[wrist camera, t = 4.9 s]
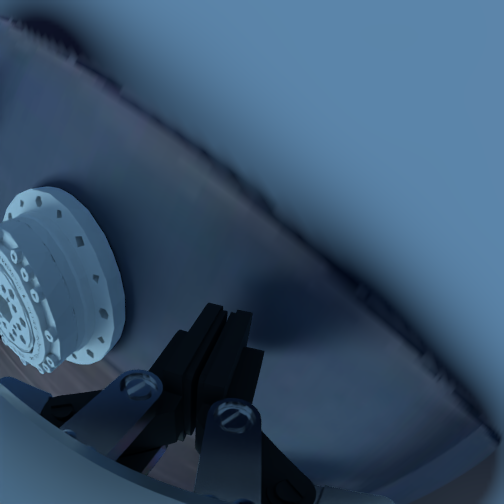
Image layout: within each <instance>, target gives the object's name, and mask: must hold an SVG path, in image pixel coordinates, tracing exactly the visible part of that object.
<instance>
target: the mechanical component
mask: <svg viewBox="0 0 504 504" xmlns="http://www.w3.org/2000/svg"><path fill="white" fill-rule="evenodd" d="M124 323H125V295H124V290H123V285H122V280H121V275H120V272H119V269H118V266H117V263H116V260H115V257H114V254H113V252H112V250H111V248H110V245H109V243H108V241H107V239H106V236H105V234H104V233H103V231H102V230H101V229H100V227H99V226H98V224H97V223H96V221H95V220H94V218H93V216H92V215H91V213H90V212H89V210H88V209H87V208H86V207H84V206H83V205H82V204H81V203H80V202H79V201H78V200H77V199H76V198H75V197H74V196H73V195H71V194H69V193H67V192H66V191H64V190H62V189H60V188H55V187H49V186H46V187H39V188H33V189H29V190H27V191H25V192H22V193H20V194H18V195H17V196H16V197H15V198H14V200H13V201H12V202H11V204H10V205H9V206H8V208H7V210H6V214H5V217H4V220H3V222H1V223H0V335H1V336H2V337H1V338H2V341H3V342H4V343H5V345H8V346H9V347H10V348H11V349H12V350H13V351H14V352H15V353H16V354H17V355H18V356H19V357H20V360H21V362H22V363H23V364H24V365H27V364H29V363H30V364H31V365H33V366H35V367H36V368H37V369H38V370H39V372H40V373H42V374H44V373H45V372H46V371H47V372H49V373H51V372H52V371H53V370H54V369H56V368H57V367H58V366H59V365H60V364H61V363H62V362H63V361H64V360H65V359H66V360H68V361H71V362H74V363H77V364H92V363H94V362H97V361H99V360H101V359H102V358H103V357H104V356H105V355H106V354H107V353H108V352H109V351H110V350H111V349H112V348H113V347H114V345H115V344H116V343H117V341H118V340H119V339H120V337H121V334H122V330H123V327H124Z"/></svg>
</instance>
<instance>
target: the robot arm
mask: <svg viewBox="0 0 504 504" xmlns="http://www.w3.org/2000/svg"><path fill="white" fill-rule="evenodd" d="M251 320H252V313H251V312H246V311H242V310H237V312H236V313H233V312H231V314H230V316H229V318H228V320H227V311H225V310H223V306H220V305H216V304H212V303H208V304H207V305H206V306H205V308H204V309H203V311H202V312H201V314H200V315H199V317H198V318H197V320H196V321H195V323H194V324H193V326H192V327H191V329H190V330H189V331H188V332H186V331H183V330H179V331H178V332H177V333H176V334H175V335H174V337H173V338H172V340H171V341H170V342H169V344H168V345H167V346H166V348H165V349H164V350H163V352H162V353H161V355H160V356H159V357H158V359H157V360H156V361H155V363H154V364H153V366H152V367H151V368H150V370H149V371H146V370H139V369H137V370H130V371H126V372H124V373H123V374H121V375H120V376H118V377H117V378H116V379H115V380H114V381H113V382H112V383H110V384H109V385H108V386H107V387H106V388H105V389H104V390H98V391H92V392H85V393H78V394H70V395H61V396H57V397H52V395H51V393H48V392H45V391H43V390H41V389H38V388H36V387H33V386H31V385H29V384H26V383H24V382H22V381H20V380H18V379H16V378H13V377H3V378H1V379H0V504H394V502H393V501H392V500H391V499H389V498H387V497H384V496H380V495H373V494H367V493H361V492H355V491H350V490H345V489H341V488H336V487H332V486H328V485H325V486H324V487H321V486H317V485H313V483H312V482H311V481H310V480H309V479H308V478H307V477H306V476H305V475H304V474H303V473H302V472H301V471H300V470H299V469H298V468H297V467H296V466H295V465H294V464H293V463H292V462H291V461H290V460H289V459H288V458H287V457H286V456H285V455H284V454H283V453H282V452H281V451H280V450H279V449H278V448H277V447H276V446H275V445H274V444H273V443H272V441H271V440H270V439H269V438H268V437H267V436H266V435H265V434H264V433H263V432H262V420H261V415H260V413H259V411H258V409H257V408H256V407H255V406H254V405H252V401H253V397H254V393H255V389H256V385H257V381H258V377H259V373H260V369H261V364H262V360H263V356H264V351H262V350H258V349H253V348H249V347H247V341H248V336H249V331H250V325H251ZM226 321H227V322H226ZM195 427H196V435H195V436H196V439H195V448H196V450H197V451H198V453H199V454H200V458H199V464H198V470H197V475H196V481H195V487H194V493H193V492H190V491H187V490H184V489H181V488H178V487H175V486H172V485H169V484H166V483H164V482H161V481H158V480H156V479H153V478H151V477H148V476H147V475H148V473H149V472H150V471H151V469H152V468H153V467H154V466H155V464H156V463H157V462H158V460H159V459H160V458H161V456H162V455H163V454H164V452H165V451H166V449H167V447H168V444H171V443H175V442H177V440H180V441H184V439H185V436H186V434H187V435H192V434H193V432H194V429H195Z"/></svg>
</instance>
